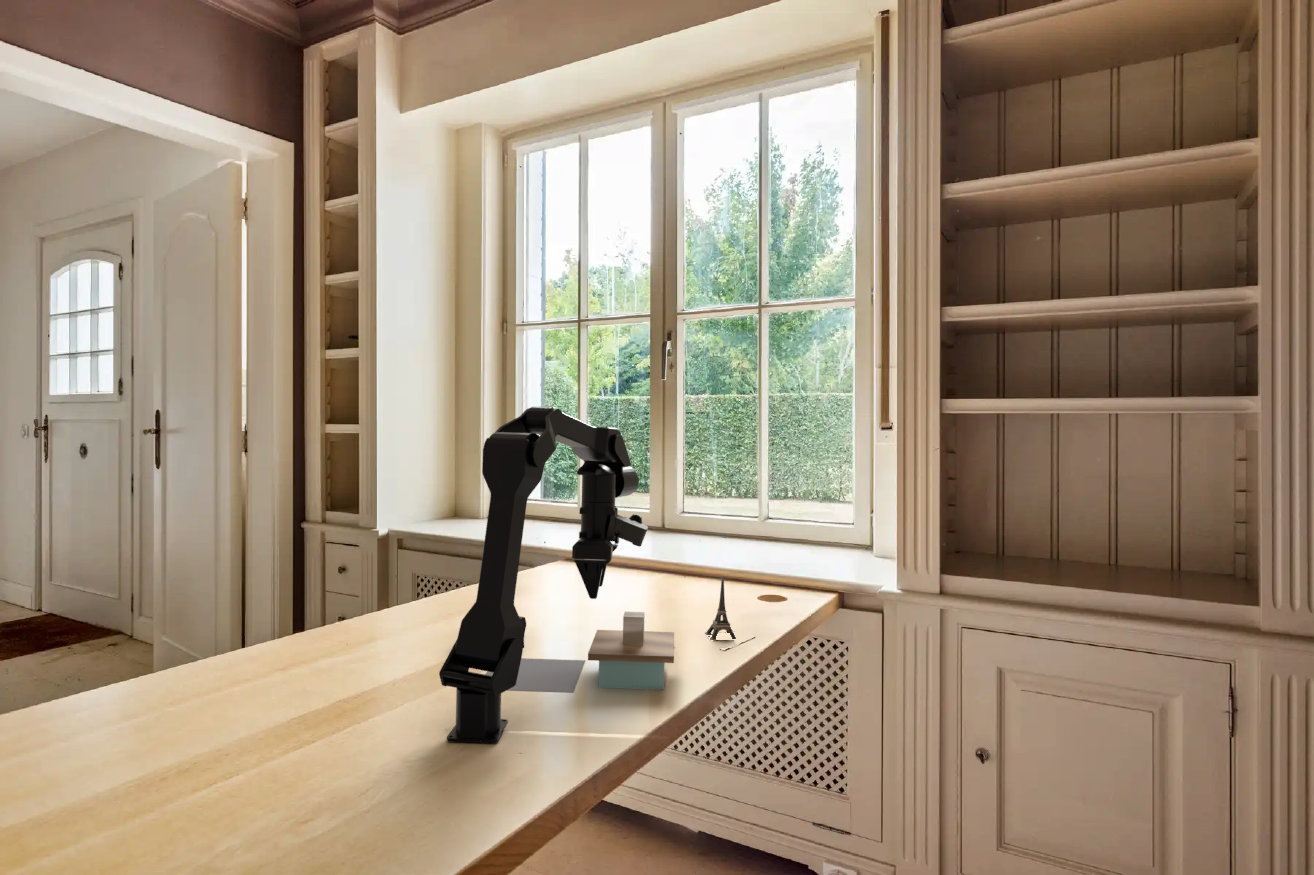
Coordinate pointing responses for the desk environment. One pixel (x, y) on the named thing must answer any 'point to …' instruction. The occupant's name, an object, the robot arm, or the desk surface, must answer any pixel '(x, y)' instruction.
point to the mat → (547, 675)
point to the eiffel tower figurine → (719, 623)
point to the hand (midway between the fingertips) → (596, 592)
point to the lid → (632, 643)
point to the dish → (631, 675)
